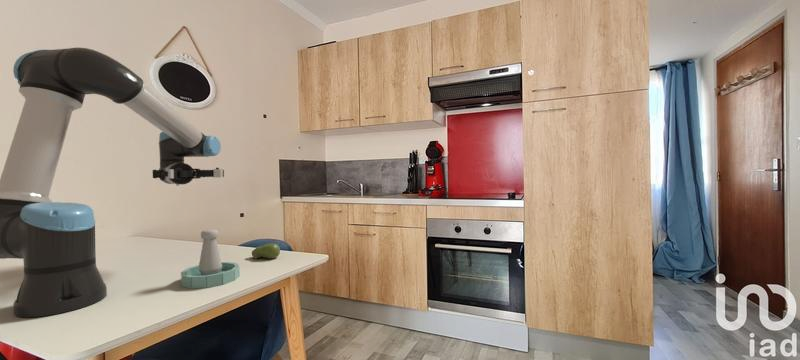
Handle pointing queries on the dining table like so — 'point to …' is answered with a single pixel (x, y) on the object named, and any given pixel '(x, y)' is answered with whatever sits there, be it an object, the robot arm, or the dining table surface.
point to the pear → (266, 251)
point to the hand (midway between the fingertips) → (198, 173)
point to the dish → (209, 276)
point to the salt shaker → (210, 253)
